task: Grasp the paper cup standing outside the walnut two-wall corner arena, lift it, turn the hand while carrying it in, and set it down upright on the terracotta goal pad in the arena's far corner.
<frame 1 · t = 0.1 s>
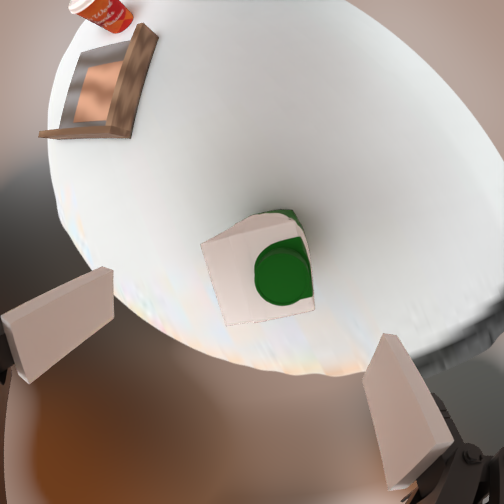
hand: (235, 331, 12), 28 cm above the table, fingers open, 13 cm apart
paper cup: (122, 23, 34), on the table
arena: (101, 88, 37), on the table
milk carton: (273, 238, 39), on the table
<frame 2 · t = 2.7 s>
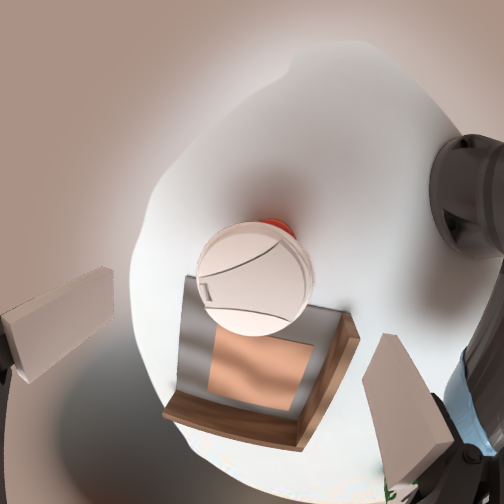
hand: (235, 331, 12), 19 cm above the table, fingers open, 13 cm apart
paper cup: (271, 243, 30), on the table
arena: (251, 363, 33), on the table
milk carton: (401, 462, 35), on the table
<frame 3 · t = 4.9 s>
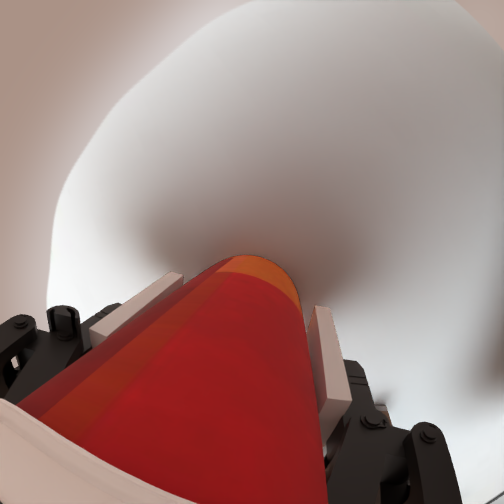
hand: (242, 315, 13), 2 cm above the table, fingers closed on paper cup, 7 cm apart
paper cup: (249, 302, 15), on the table, touching gripper
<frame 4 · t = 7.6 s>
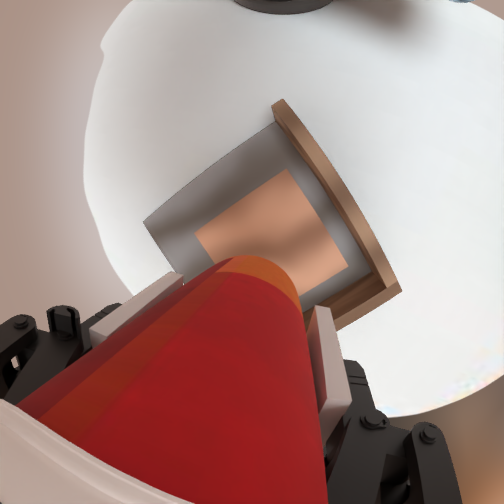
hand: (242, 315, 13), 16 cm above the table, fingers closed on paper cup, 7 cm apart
paper cup: (249, 302, 15), point 15 cm above the table, touching gripper
arena: (260, 245, 29), on the table
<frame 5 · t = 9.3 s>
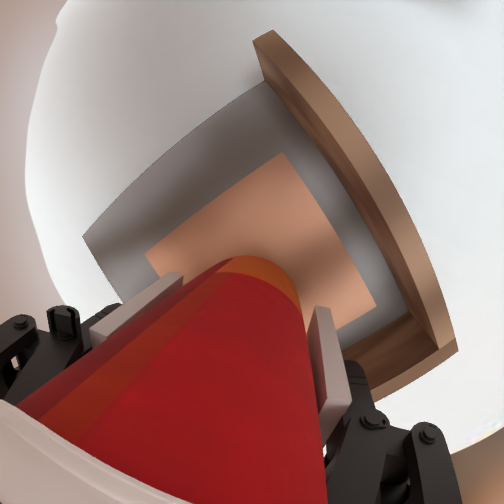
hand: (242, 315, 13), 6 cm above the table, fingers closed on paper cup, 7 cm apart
paper cup: (249, 302, 15), point 4 cm above the table, touching gripper
arena: (242, 273, 19), on the table
when the fingers open (3 cm above the table, at t = 10.3 s): paper cup stays where it is, resting on arena.
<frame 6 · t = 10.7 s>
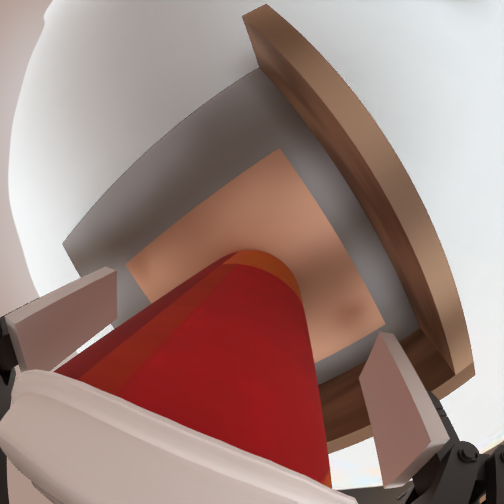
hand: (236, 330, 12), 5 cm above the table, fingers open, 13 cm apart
paper cup: (252, 294, 16), point 1 cm above the table, touching arena
arena: (234, 288, 16), on the table
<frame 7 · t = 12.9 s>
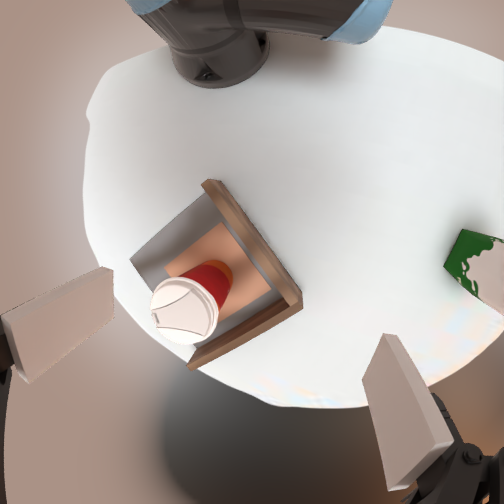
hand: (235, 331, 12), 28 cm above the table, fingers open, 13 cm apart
paper cup: (215, 277, 40), point 1 cm above the table, touching arena
arena: (209, 275, 41), on the table
milk carton: (464, 257, 34), on the table
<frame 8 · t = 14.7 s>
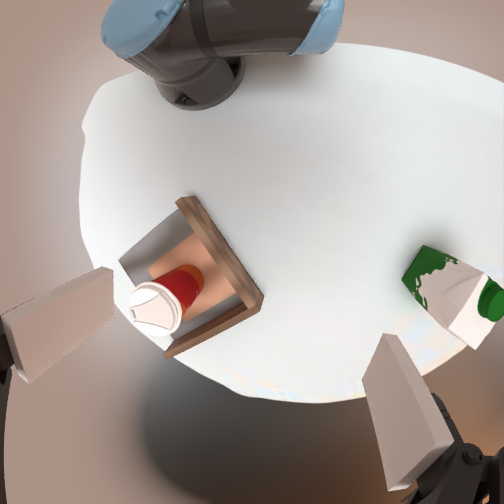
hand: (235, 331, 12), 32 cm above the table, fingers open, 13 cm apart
paper cup: (190, 279, 46), point 1 cm above the table, touching arena
arena: (184, 277, 46), on the table
milk carton: (424, 272, 40), on the table
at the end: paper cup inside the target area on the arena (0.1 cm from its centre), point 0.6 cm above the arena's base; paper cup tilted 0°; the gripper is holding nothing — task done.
